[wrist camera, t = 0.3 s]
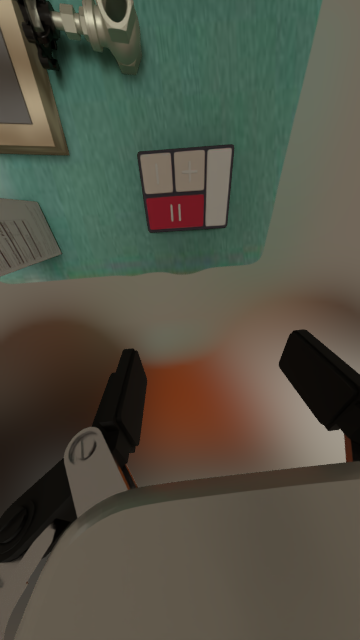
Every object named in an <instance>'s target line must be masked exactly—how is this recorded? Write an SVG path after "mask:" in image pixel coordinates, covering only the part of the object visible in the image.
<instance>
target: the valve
mask: <svg viewBox="0 0 360 640" xmlns="http://www.w3.org/2000/svg"><path fill="white" fill-rule="evenodd" d="M15 1H17V3H18V5H19V8H20V11H21V13H22V16H23V20H24V22H22V23H21V24H22V29H23V32H24V34H25V37H26V39H27V40H28V42H29V43H33V44H35V45H36V47H37V50H38V57H39V61H40V63H41V65H42V67H43V68H44V69H48V70H56V71H59V64H58V61H57V59H53V57H52V49H53V50H57V44H56V41H57V40H58V39H60V30H61V31H65V32H66V34H67V36H68V38H69V39H70V40H78V41H81V35H84V37H85V39H86V40H87V42H90V43H91V46H92V48H93V50H94V51H96V52H103V47H106V48H109V49H110V51H111V53H112V54H113V55H114V57H115V58H116V60H117V63H118V65H119V67H120V70H121V72H122V74H128V75H137V71H138V68H139V65H140V61H141V58H142V51H141V45H140V26H139V21H138V17H137V14H136V11H135V8H134V2H133V0H96V3H97V5H96V4H95V2H94V0H82V5H83V7H81V6H79V13H76V12H75V10H74V8H73V6H72V5H68V4H61V3H60V12H54V9H53V7H52V5H51V3H50V2H49V1H46V0H27V1H26V0H15Z"/></svg>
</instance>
